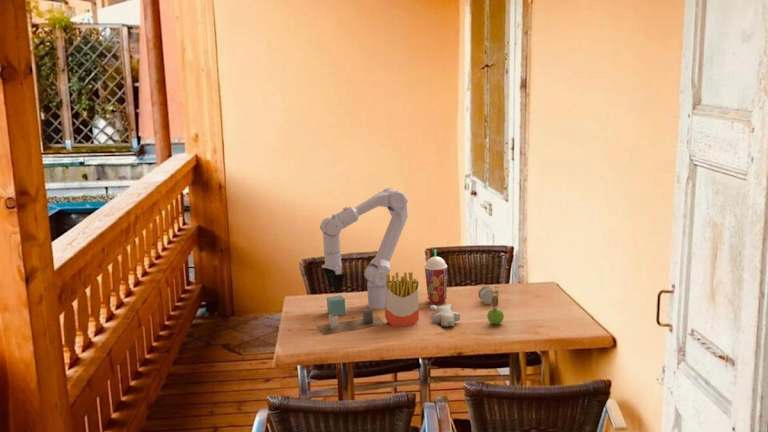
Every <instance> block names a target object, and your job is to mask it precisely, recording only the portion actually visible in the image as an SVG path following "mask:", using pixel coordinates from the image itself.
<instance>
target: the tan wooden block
mask: <svg viewBox="0 0 768 432" xmlns="http://www.w3.org/2000/svg"><path fill="white" fill-rule="evenodd" d="M338 322H339V316H338V315H337V314H331V315H330V314H328V324H329V328H330V329H331V330H334V329H339V323H338Z"/></svg>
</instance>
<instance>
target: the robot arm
mask: <svg viewBox="0 0 768 432" xmlns="http://www.w3.org/2000/svg"><path fill="white" fill-rule="evenodd" d="M408 202H409V200H408V199H407V197H406V194H405V193H404V192H402V191H400V190H395V189H393V188H390V187H389V188H385V189H383V190H381V191H378V192H377V193H376V194H374V195H373V196H371V197H369V198H368V199H366V200H365V201H363V202H362V203H360V204H358V205H357V206H355V207H352V206H349V207H347V206H345V207H343V209H342V210H341V211H339V212H337V213H335V214H334V213H333V214H331V217H325V218H324V219H322V221H321V222H320V225H319V230H320V231H321V232H322V237H323V254H324V256H323V257H324V264H321V268H322V269H321V270H322V271H323V273H324V275H325V278H326V280H327V284H328V287H329V288H333V290H334V293H335V294H336V293H341V292H342V287H343V282H344V279H345V277H346V272H344V271H342V270H343V269H342V267H343V262H342V256H341V255H342V254H341V239H340V233H341V231H342V230H344V229H345V228H348V227H349V226H351V225H352V224H354V223H356V222H358V220H359V217H360V216H362V215H363V214H366V213H368V212H370V211H372V210H374V209H376V208H378V207H383V208H387V210H388V212H389V214H390V216H391V218H390V220H389V223H388V225H387V228H386V230H385V233H384V236H383V239H382V240H381V243H380V245H379V247H378V250H377V253H376V255H375V257H374V258H372V259H371V260H370V263H369V264H368V266H367V267H365V269H364V274H363V275H364V278H365V279H366V280H367V284H366V286H367V301H368V302H367V304H368V309H369V308H370V309H371V310H383V309H385V295H386V281H387V274H390V272H391V264H390V262H391V260H392V257H393V254H394V252H395V250H396V247H397V245H398V242H399V239H400V238H401V235H402V232H403V229H404V227H405V226H406V223H407V219H408Z"/></svg>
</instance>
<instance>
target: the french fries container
mask: <svg viewBox="0 0 768 432" xmlns="http://www.w3.org/2000/svg"><path fill="white" fill-rule="evenodd" d="M391 276H392V277H391ZM419 284H420V283H419V280H417V277H415V278H414V276H413V271H408V274H407V272H406V271H404V272H403V275H402V276H400V278H399V271H396V272H395V274H392V275H391V274H390V273H389V274H387V281H386V295H385V308H384V312H385V313H384V314H385V315H384V317H385V320H386V322H388V323H389V325H391V326H392V327H393V326H406V325H408V326H409V325H414V324H416V323H417V322H418V321H419V317H420V316H419V315H420V307H419V306H420V305H419Z"/></svg>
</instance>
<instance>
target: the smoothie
mask: <svg viewBox="0 0 768 432" xmlns="http://www.w3.org/2000/svg"><path fill="white" fill-rule="evenodd" d="M433 251H434V253H433V254H434V256H432V257H430V258H429V259H428V260H426V262H425V265H424V273H425V283H426V294H427V300H428V301H429V303H430V304H431V305H441V304H445V302H446V300H447V290H448V289H447V288H448V287H447V285H448V284H447V283H448V265H447V264H446V261H445V259H443V258H442V257H440V256H437V249H436V248H435V249H434V250H433Z"/></svg>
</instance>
